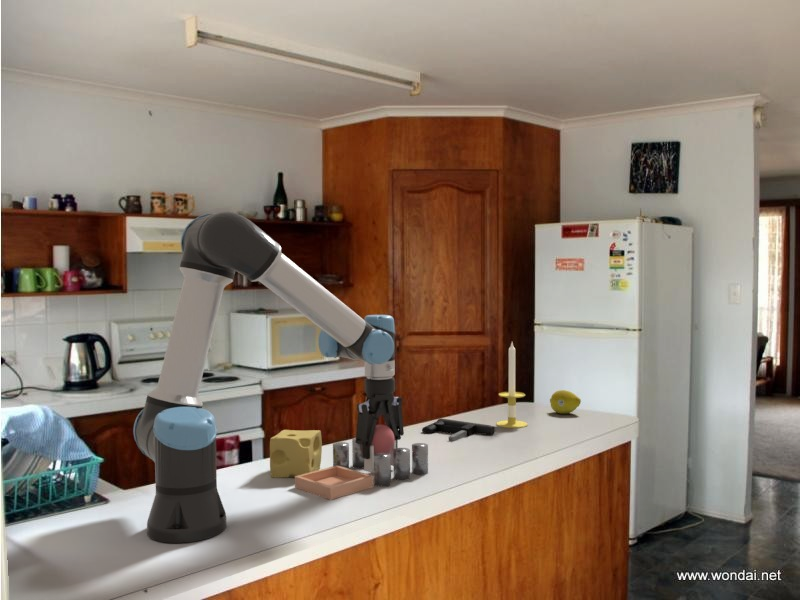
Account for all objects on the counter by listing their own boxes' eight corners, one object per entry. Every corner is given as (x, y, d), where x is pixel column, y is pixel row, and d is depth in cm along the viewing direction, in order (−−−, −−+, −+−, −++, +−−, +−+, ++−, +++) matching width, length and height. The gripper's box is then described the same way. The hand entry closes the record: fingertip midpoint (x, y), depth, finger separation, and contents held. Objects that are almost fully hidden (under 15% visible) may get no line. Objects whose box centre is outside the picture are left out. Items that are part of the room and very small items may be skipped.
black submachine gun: (470, 437, 215) (497, 423, 228) (413, 428, 227) (441, 416, 240) (471, 448, 215) (497, 434, 228) (413, 439, 227) (441, 426, 240)
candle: (496, 420, 246) (496, 339, 244) (527, 421, 244) (527, 339, 243) (495, 427, 236) (496, 342, 234) (528, 428, 234) (528, 342, 233)
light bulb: (400, 471, 188) (400, 424, 187) (380, 478, 182) (380, 429, 182) (380, 466, 193) (380, 420, 192) (360, 472, 187) (360, 424, 187)
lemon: (544, 413, 257) (544, 390, 257) (556, 409, 263) (556, 387, 262) (572, 417, 250) (572, 394, 249) (584, 414, 255) (584, 391, 255)
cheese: (309, 480, 181) (309, 439, 181) (267, 477, 183) (267, 437, 183) (322, 468, 191) (322, 429, 191) (282, 466, 194) (282, 428, 193)
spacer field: (382, 487, 175) (382, 458, 174) (329, 471, 188) (329, 444, 188) (431, 472, 187) (431, 444, 186) (378, 458, 200) (378, 432, 200)
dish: (330, 499, 166) (330, 488, 166) (294, 487, 175) (294, 476, 175) (373, 486, 176) (373, 475, 175) (337, 475, 185) (337, 465, 184)
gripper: (360, 383, 176) (361, 479, 178) (418, 374, 191) (418, 462, 192) (339, 380, 182) (340, 473, 183) (397, 371, 196) (397, 457, 197)
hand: (380, 467), depth 187 cm, fingers closed on light bulb, 7 cm apart
